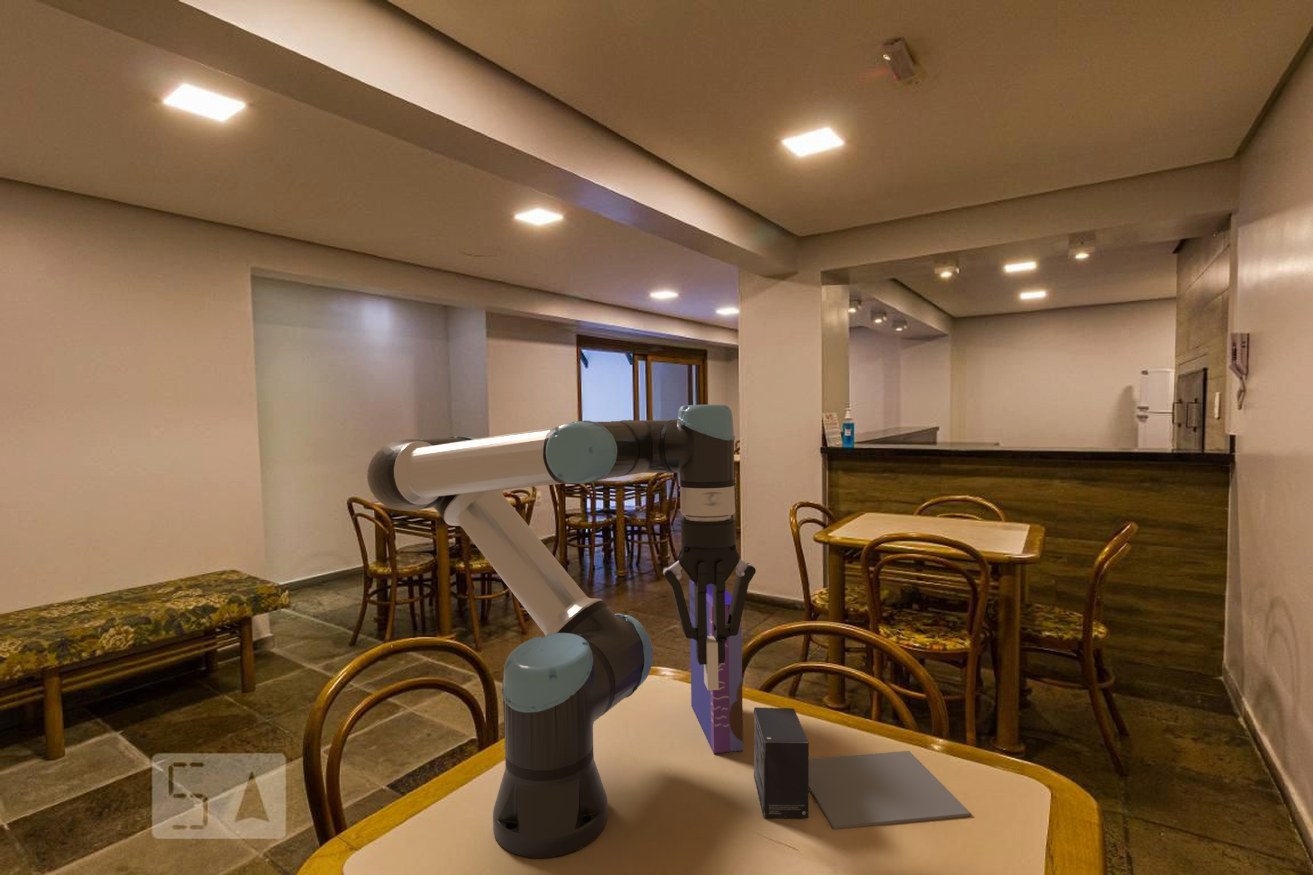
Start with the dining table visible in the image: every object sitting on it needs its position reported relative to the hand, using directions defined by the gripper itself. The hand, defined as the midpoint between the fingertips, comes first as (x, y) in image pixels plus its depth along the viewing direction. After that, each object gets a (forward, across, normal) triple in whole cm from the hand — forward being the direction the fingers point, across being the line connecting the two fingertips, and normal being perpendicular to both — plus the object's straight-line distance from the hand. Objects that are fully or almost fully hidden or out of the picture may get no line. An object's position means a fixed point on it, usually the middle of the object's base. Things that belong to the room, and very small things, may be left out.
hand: (711, 685), depth 88 cm
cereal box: (+17, +5, +21) cm, 27 cm away
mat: (+17, +24, 0) cm, 29 cm away
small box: (+17, +10, 0) cm, 19 cm away
